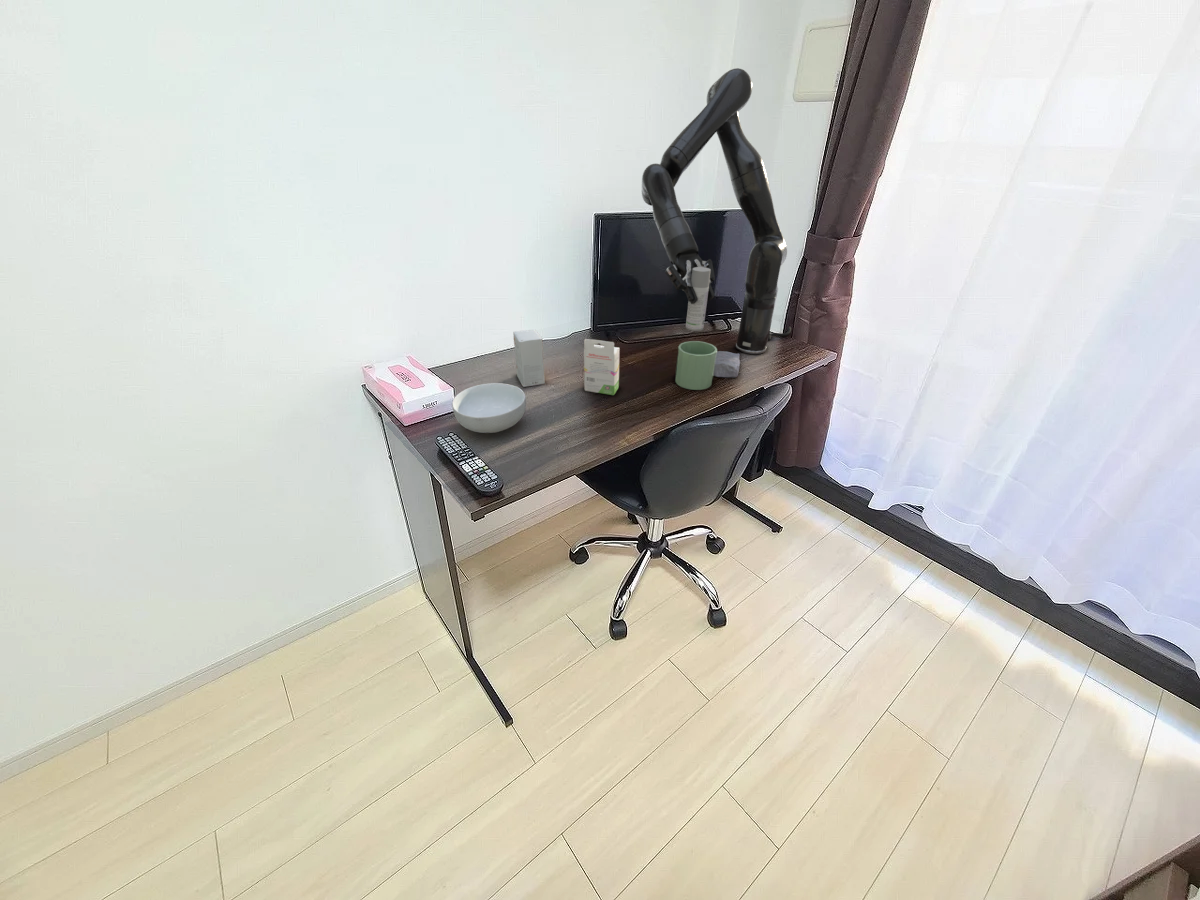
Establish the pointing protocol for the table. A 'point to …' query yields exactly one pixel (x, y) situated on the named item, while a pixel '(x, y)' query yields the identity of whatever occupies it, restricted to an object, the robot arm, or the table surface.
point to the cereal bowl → (489, 407)
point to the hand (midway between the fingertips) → (702, 300)
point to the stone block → (726, 364)
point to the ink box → (601, 367)
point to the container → (699, 307)
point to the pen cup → (695, 365)
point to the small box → (529, 357)
